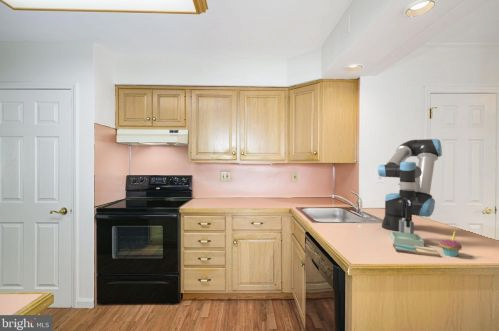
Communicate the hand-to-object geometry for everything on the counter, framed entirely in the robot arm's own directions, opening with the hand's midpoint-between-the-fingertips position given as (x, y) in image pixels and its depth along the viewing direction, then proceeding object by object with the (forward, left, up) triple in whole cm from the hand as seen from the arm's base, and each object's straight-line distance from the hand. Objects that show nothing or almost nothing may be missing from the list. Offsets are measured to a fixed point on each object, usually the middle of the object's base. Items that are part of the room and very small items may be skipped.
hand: (405, 231), depth 142 cm
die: (0, 0, 0) cm, 0 cm away
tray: (0, 0, -6) cm, 6 cm away
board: (+15, +1, -6) cm, 16 cm away
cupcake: (+15, +16, -6) cm, 23 cm away
